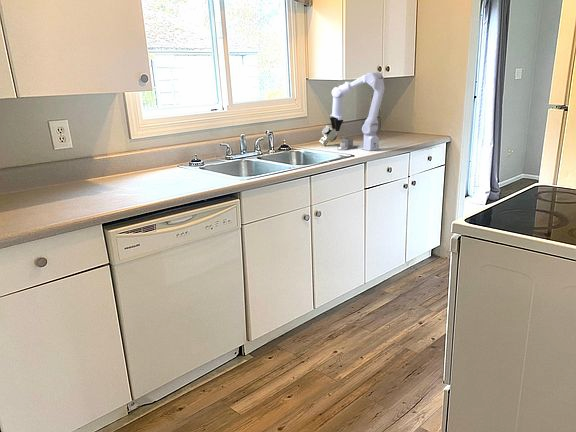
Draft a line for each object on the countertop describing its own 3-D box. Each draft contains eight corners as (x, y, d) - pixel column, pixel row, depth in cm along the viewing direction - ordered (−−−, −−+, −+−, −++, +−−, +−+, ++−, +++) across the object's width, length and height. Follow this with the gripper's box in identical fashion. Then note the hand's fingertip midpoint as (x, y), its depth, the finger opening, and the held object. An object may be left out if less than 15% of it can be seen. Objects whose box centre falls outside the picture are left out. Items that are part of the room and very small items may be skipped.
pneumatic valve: (328, 148, 299) (340, 133, 298) (320, 141, 289) (332, 126, 288) (322, 144, 302) (334, 130, 301) (314, 137, 292) (326, 122, 291)
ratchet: (341, 150, 277) (341, 143, 276) (335, 149, 282) (335, 142, 281) (358, 148, 283) (359, 141, 282) (353, 147, 288) (353, 140, 287)
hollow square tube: (352, 146, 291) (353, 138, 289) (347, 147, 288) (347, 139, 286) (346, 145, 294) (346, 137, 293) (341, 146, 291) (341, 138, 290)
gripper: (327, 106, 291) (326, 128, 296) (334, 109, 278) (332, 131, 282) (338, 106, 293) (336, 128, 297) (345, 109, 279) (343, 131, 284)
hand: (335, 129), depth 290 cm, fingers open, 7 cm apart
